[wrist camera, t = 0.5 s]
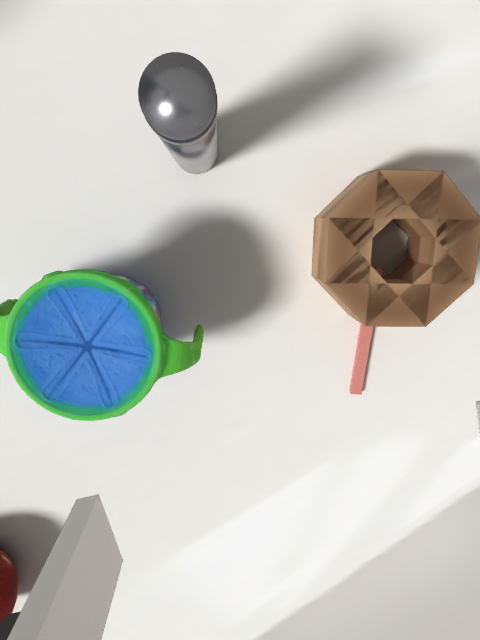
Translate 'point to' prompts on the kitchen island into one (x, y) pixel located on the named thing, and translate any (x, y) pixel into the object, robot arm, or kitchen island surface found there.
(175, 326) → the kitchen island surface
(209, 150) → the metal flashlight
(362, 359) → the pink stick
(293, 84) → the kitchen island surface
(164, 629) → the kitchen island surface
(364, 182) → the bead
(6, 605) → the fruit
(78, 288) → the snack cup
